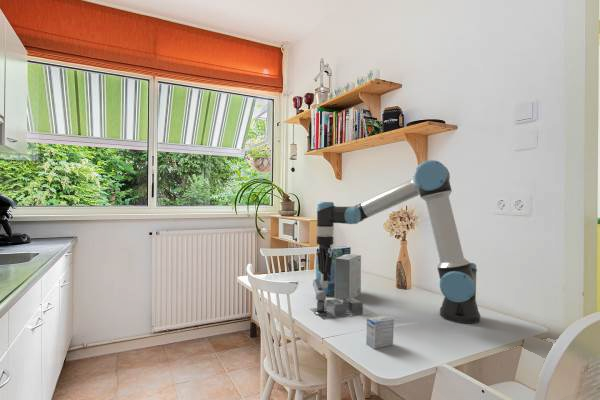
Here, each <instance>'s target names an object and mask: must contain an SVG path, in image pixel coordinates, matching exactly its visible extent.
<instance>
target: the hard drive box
mask: <svg viewBox="0 0 600 400" xmlns="http://www.w3.org/2000/svg"><path fill="white" fill-rule="evenodd" d="M361 277H362V255H361V254H352V253H350V254H346V255H343V256H340V257H337V258H335V293H334V299H337V300H340V301H343V299H344V298H356V297H359V296H360V295H361V294H362V289H361V287H362V286H361V285H362V278H361Z"/></svg>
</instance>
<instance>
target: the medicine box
mask: <svg viewBox="0 0 600 400" xmlns="http://www.w3.org/2000/svg"><path fill="white" fill-rule="evenodd" d="M394 322H395V320H394V319H393V318H391V317H390V316H387V315H379V316H374V317H369V318H367V319H366V335H365V336H366V337H365V339H366V340H365V341H366V345H367V346H369V347H370V348H372V349H374V350H377V349H380V348H386V347H389V346H393V344H394V324H395V323H394Z"/></svg>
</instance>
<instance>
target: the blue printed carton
mask: <svg viewBox="0 0 600 400" xmlns="http://www.w3.org/2000/svg"><path fill="white" fill-rule="evenodd" d="M330 248H331V253H333V257H332V264H331V272H330V273H328V287H327V288H323V290H324V291H326V296H327V295H328V296H329V295H333V294H334V295H335V258H337V257H340V256H343V255H346V254H351V251H352V250H351V248H352V247H350V246H346V245H343V246H332V247H331V246H330ZM315 265H316V266H315V268H316V269H315V279H319V280H320V283H321V272H320V271H319V268H318V256H317V255H316V264H315Z"/></svg>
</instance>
